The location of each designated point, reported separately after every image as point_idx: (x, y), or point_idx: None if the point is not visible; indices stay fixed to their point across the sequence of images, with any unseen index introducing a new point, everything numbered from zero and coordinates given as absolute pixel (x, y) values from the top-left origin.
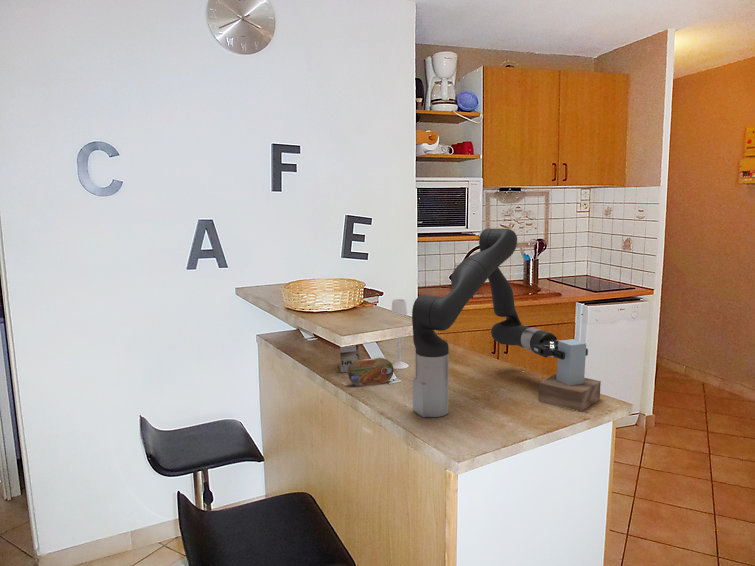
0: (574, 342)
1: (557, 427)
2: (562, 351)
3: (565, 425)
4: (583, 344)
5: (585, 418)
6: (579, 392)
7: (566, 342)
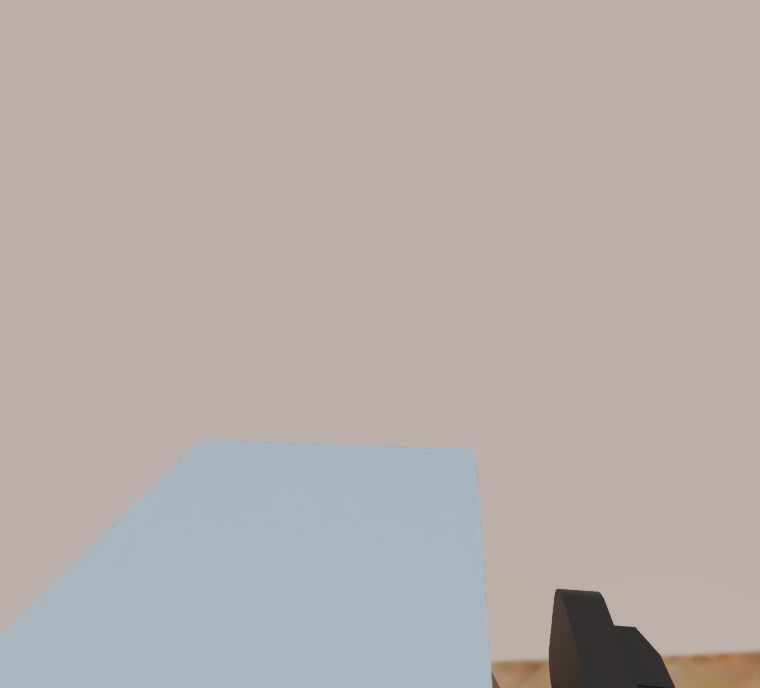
0: (269, 518)
1: (753, 665)
2: (574, 627)
3: (691, 661)
4: (248, 451)
5: (523, 670)
6: (492, 676)
7: (410, 568)
